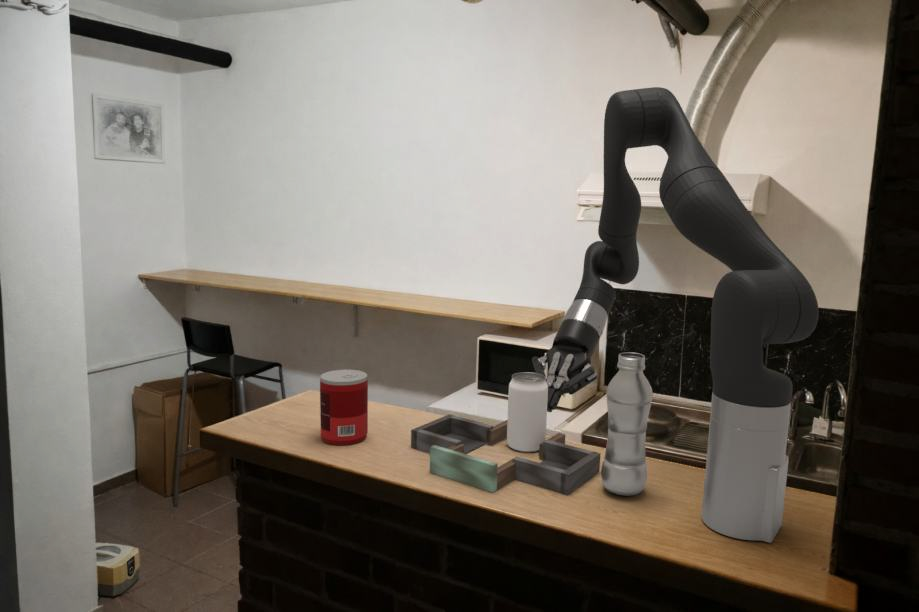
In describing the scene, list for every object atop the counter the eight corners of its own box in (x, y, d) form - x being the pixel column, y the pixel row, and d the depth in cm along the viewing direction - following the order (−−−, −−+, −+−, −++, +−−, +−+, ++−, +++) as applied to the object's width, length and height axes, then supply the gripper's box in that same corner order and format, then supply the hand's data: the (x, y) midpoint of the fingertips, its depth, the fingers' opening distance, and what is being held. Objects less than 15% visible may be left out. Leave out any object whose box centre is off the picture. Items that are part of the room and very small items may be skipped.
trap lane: (613, 461, 111) (615, 437, 110) (547, 510, 94) (548, 481, 93) (466, 422, 128) (466, 401, 127) (386, 458, 110) (386, 433, 110)
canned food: (376, 435, 120) (377, 373, 118) (345, 449, 113) (345, 384, 112) (343, 426, 124) (342, 366, 122) (311, 439, 117) (310, 376, 116)
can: (532, 456, 112) (535, 384, 110) (499, 446, 116) (501, 377, 114) (552, 445, 117) (555, 376, 115) (519, 436, 121) (522, 369, 119)
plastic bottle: (595, 496, 98) (604, 358, 95) (604, 478, 104) (612, 348, 101) (642, 504, 96) (653, 363, 92) (648, 486, 102) (658, 352, 99)
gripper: (543, 313, 130) (505, 390, 122) (609, 322, 122) (573, 405, 115) (555, 336, 135) (520, 412, 127) (619, 346, 127) (586, 428, 120)
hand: (545, 409), depth 121 cm, fingers closed
